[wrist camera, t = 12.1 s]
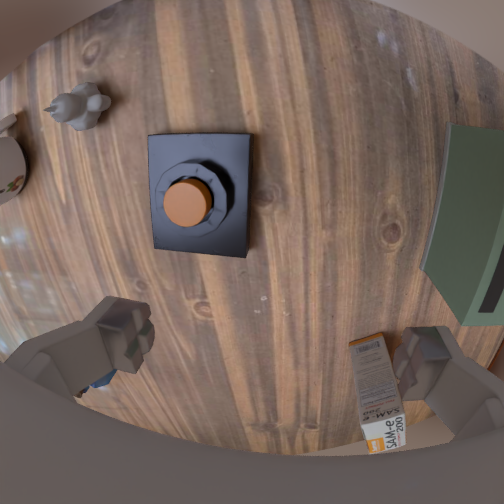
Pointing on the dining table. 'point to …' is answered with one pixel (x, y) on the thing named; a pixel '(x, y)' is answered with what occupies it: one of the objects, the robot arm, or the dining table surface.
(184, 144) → the button block
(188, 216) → the button
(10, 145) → the spread jar
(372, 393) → the supplement box
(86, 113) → the grey rounded figurine
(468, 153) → the toaster
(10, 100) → the dining table surface
